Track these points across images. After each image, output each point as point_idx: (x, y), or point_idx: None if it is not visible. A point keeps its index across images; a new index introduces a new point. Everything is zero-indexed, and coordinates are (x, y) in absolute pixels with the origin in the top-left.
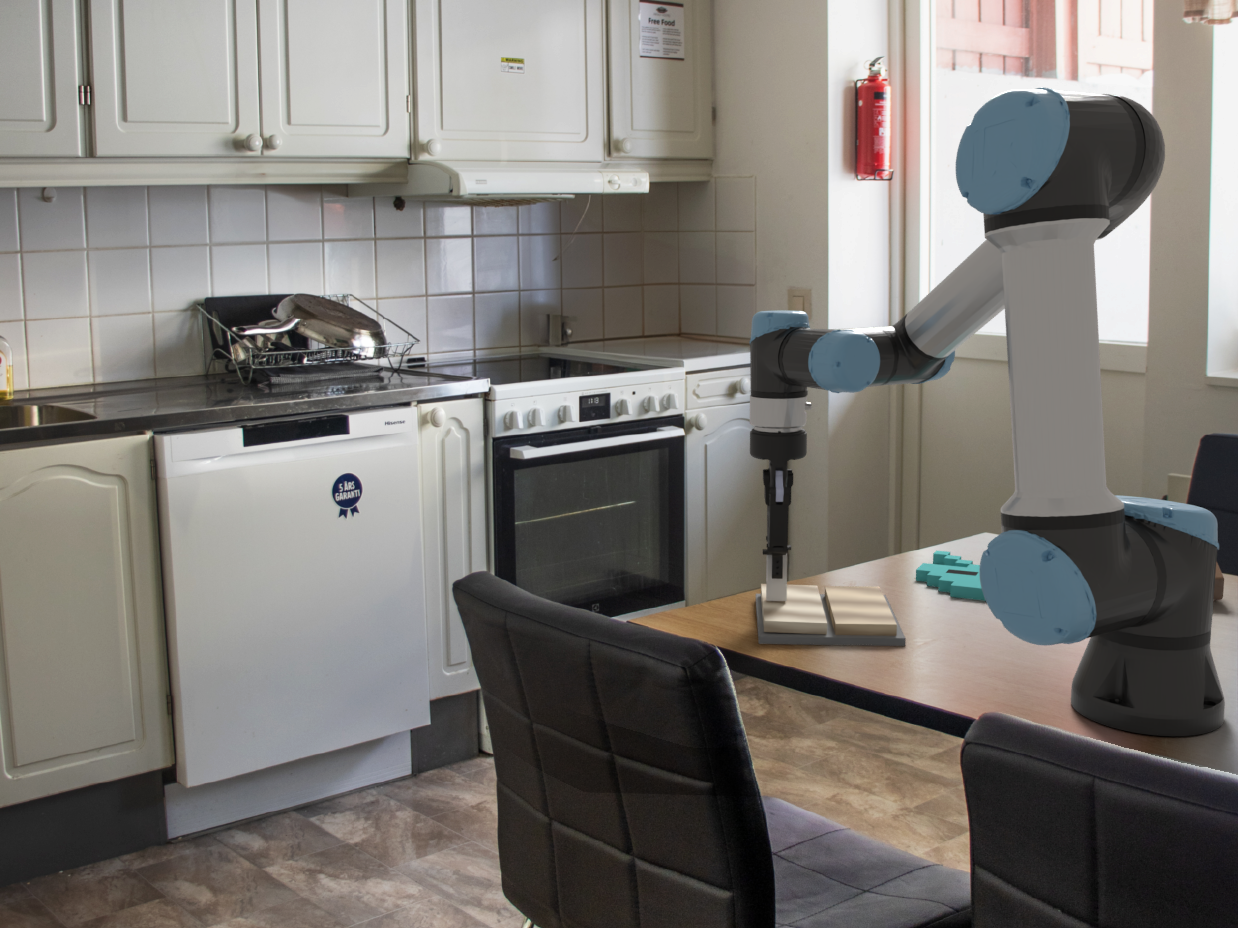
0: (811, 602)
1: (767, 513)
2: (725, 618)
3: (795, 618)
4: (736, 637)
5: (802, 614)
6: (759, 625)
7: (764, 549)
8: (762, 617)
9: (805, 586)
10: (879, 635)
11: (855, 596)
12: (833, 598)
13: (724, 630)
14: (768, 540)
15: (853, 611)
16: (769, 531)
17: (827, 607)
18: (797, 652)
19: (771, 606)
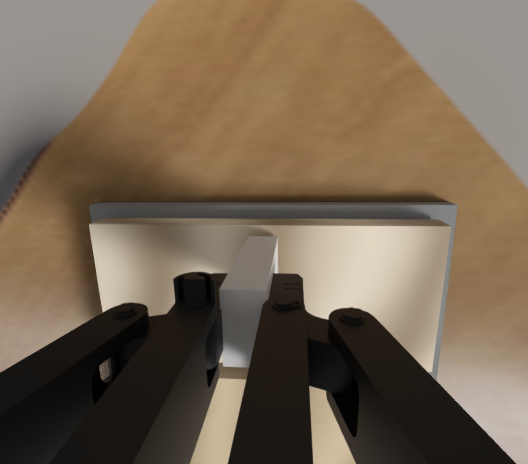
0: None
1: (397, 422)
2: (282, 122)
3: (126, 296)
4: (136, 152)
5: (162, 313)
6: (168, 208)
7: (212, 287)
8: (232, 217)
9: (421, 343)
10: None
11: (328, 440)
12: (310, 393)
13: (184, 122)
14: (175, 327)
15: (205, 418)
16: (3, 371)
17: None
18: (62, 275)
19: (215, 246)
